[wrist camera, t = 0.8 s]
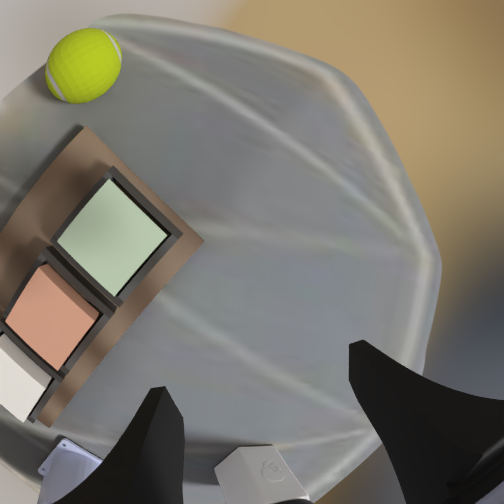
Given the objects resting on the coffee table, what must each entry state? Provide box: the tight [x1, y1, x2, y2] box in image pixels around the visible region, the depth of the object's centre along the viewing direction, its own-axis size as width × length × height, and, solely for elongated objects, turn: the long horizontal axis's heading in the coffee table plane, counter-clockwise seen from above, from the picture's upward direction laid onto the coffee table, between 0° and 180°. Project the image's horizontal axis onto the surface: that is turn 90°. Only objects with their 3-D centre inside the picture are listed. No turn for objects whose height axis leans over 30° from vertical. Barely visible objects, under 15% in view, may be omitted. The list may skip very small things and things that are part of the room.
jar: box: [214, 445, 313, 504], centre depth 23 cm, size 9×8×12 cm
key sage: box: [57, 179, 167, 296], centre depth 19 cm, size 6×6×2 cm
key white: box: [0, 334, 52, 423], centre depth 17 cm, size 6×6×2 cm
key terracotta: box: [5, 264, 99, 371], centre depth 18 cm, size 6×6×2 cm
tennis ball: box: [45, 28, 122, 104], centre depth 17 cm, size 7×7×7 cm
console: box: [0, 125, 204, 428], centre depth 20 cm, size 25×14×3 cm, turn 136°
